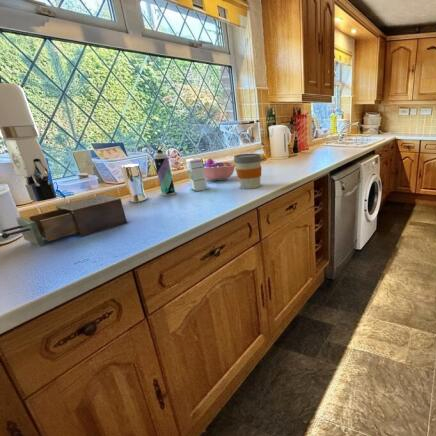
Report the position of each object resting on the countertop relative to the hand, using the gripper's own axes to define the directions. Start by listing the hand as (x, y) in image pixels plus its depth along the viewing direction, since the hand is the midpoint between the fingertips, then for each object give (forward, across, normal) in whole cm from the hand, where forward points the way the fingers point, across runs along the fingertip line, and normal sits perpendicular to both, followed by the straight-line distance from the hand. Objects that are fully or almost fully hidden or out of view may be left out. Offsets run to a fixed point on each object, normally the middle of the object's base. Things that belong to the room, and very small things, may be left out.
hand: (43, 197), depth 88 cm
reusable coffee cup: (+13, +10, +73) cm, 75 cm away
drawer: (+12, 0, -3) cm, 12 cm away
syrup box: (+13, -10, +59) cm, 62 cm away
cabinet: (+13, 0, +10) cm, 17 cm away
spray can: (+13, -16, +47) cm, 52 cm away
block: (0, 0, 0) cm, 0 cm away
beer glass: (+13, -19, +35) cm, 42 cm away
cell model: (+13, -17, +77) cm, 80 cm away
